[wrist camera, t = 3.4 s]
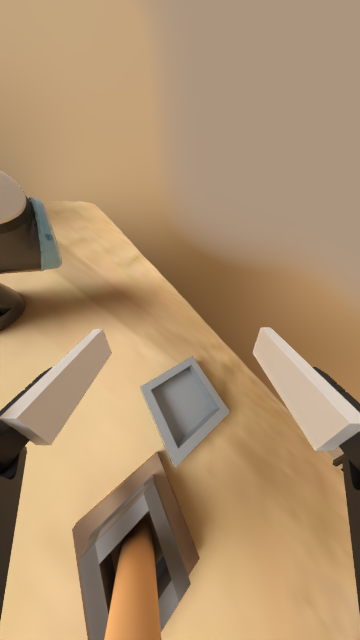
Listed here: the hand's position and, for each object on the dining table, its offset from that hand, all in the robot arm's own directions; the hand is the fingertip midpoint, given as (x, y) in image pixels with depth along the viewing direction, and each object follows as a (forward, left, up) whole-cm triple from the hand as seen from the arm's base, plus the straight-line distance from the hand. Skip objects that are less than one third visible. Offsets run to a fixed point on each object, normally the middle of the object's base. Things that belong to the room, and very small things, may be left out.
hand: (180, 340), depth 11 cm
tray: (+3, -5, -23) cm, 24 cm away
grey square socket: (-11, -15, -23) cm, 29 cm away
